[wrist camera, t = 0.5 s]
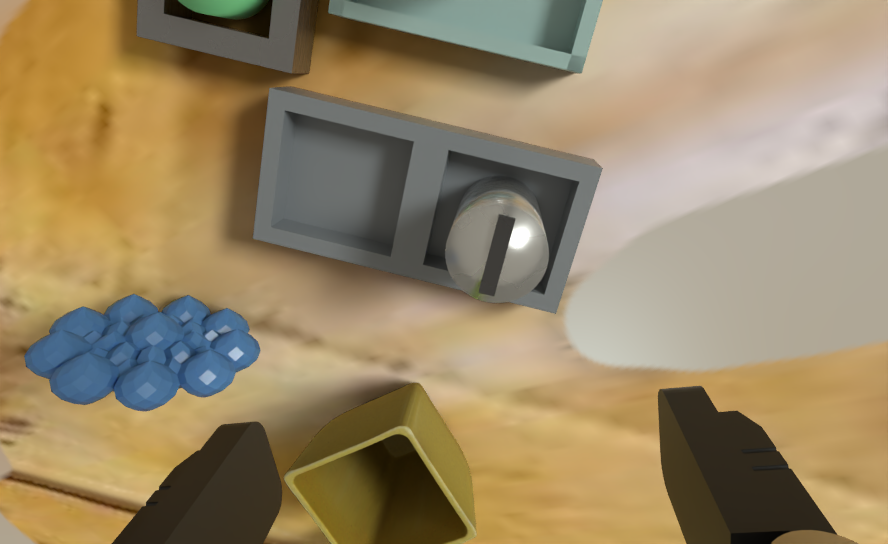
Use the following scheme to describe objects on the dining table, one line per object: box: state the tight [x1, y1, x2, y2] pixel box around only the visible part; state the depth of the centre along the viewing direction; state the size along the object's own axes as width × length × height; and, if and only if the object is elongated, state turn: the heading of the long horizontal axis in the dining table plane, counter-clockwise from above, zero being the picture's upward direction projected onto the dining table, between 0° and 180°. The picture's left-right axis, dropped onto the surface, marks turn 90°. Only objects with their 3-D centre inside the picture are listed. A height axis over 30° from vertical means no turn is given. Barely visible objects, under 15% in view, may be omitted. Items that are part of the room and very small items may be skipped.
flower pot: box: [284, 383, 477, 544], centre depth 38 cm, size 9×9×9 cm
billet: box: [445, 175, 549, 303], centre depth 31 cm, size 5×5×8 cm
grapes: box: [24, 294, 260, 411], centre depth 35 cm, size 12×7×12 cm, turn 76°
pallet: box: [253, 86, 603, 314], centre depth 35 cm, size 19×9×3 cm, turn 77°
